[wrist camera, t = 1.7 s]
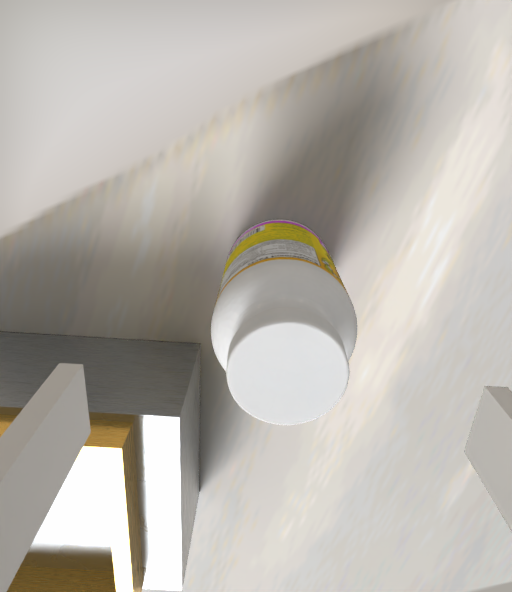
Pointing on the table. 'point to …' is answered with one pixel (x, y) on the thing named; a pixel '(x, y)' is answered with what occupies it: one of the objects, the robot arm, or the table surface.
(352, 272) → the table surface
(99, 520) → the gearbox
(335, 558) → the table surface
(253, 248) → the supplement bottle
